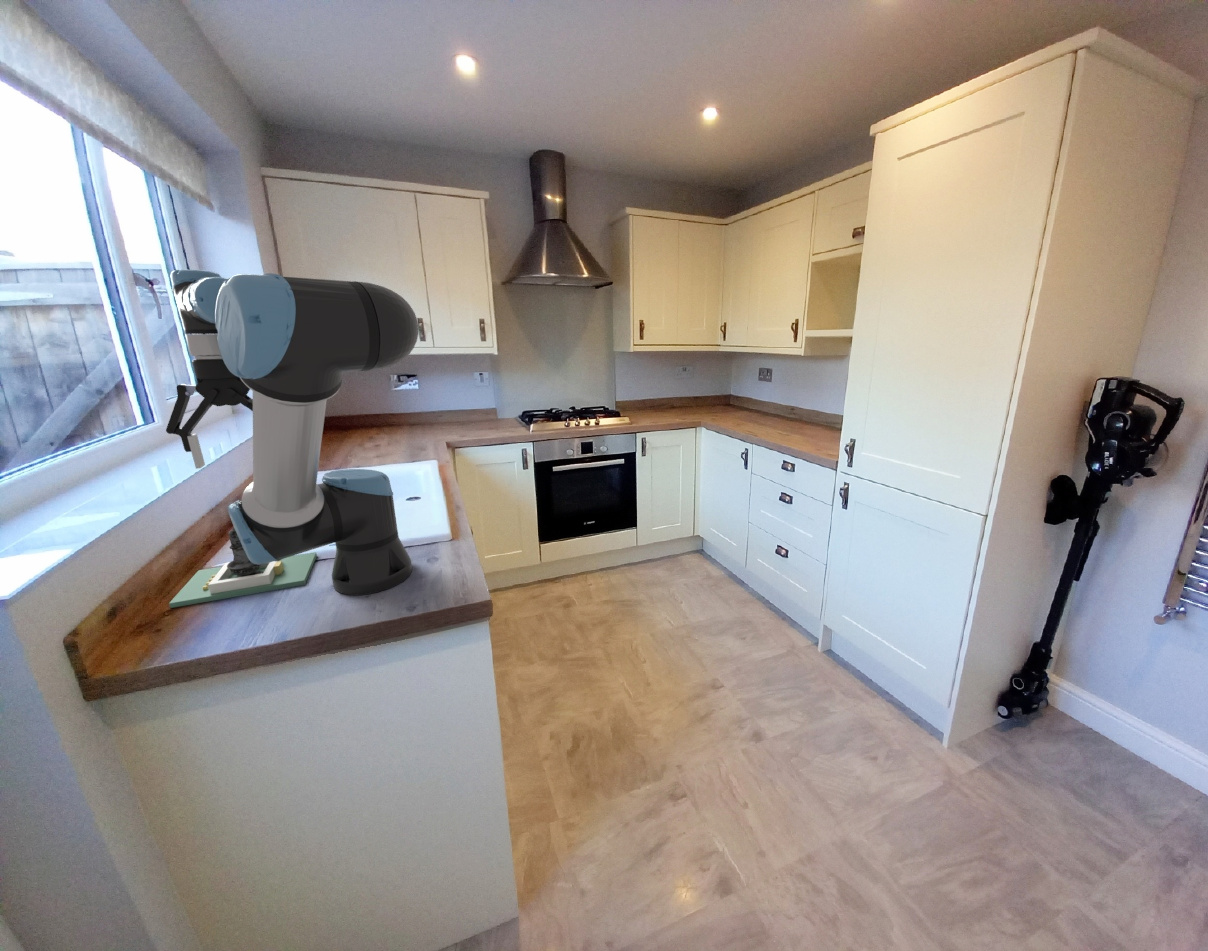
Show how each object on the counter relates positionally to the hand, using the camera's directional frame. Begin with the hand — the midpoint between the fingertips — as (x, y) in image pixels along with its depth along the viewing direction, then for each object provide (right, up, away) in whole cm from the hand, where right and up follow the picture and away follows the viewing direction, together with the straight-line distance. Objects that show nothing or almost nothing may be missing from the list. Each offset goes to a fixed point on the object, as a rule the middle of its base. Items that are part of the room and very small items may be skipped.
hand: (241, 463), depth 96 cm
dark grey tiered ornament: (+1, -24, 0) cm, 24 cm away
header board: (+1, -25, +2) cm, 25 cm away
